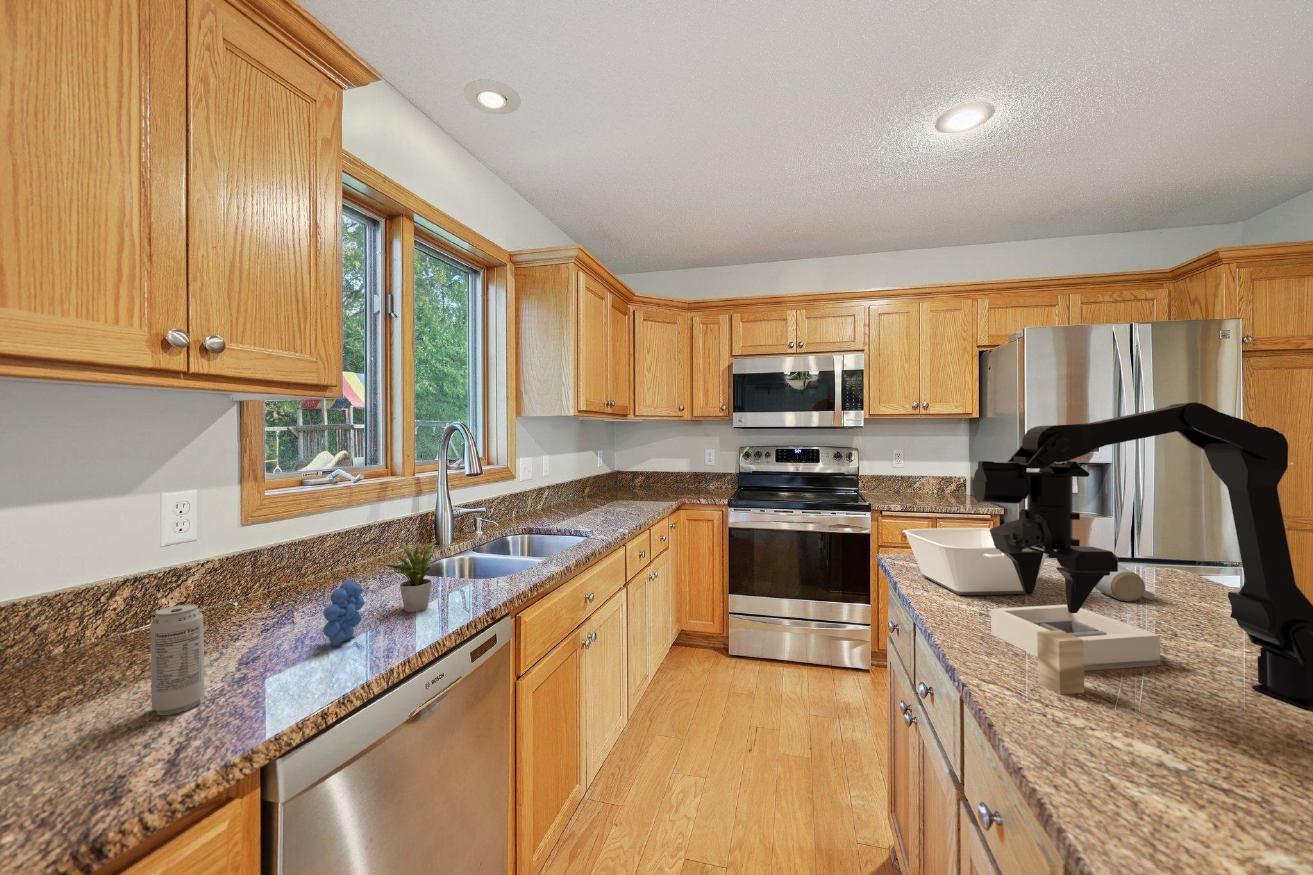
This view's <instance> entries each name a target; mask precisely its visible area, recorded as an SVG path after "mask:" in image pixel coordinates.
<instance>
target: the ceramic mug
mask: <svg viewBox="0 0 1313 875" xmlns="http://www.w3.org/2000/svg"><path fill="white" fill-rule="evenodd" d="M1094 589H1096V590H1097V591H1099V592H1100V593H1103V594H1104V595H1107V596H1109V597H1111V598H1114V599H1116V600H1118V601H1122V602H1134V601H1136V600H1139V599H1141V598H1145V599H1147V600H1150V601H1153V600H1154V598H1156V594H1154V593H1152V592H1150V591H1148V590H1146V585H1145V582H1144V580H1143V578H1141V577H1140V576H1139V575H1138V574H1137V573H1136V572H1134V571H1132V570H1130V569H1128V568H1125V567H1124V566H1121V565H1119V564H1118V572H1110V575H1109V576H1104V577H1103V578H1102V579H1101V580H1100V581H1099V583H1098V584H1097V585H1096V586H1095V587H1094Z"/></svg>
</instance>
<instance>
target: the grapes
mask: <svg viewBox="0 0 1313 875" xmlns="http://www.w3.org/2000/svg"><path fill="white" fill-rule="evenodd" d="M362 593H363V588H362V585H360V583H358V582H354V581H353V580H351V579H348V580H345V581H344V582H342V583H341V585H340V586H339V587H338V588H335V590H333V591H332V593H331V594H330V596H329V598H330V601H331V604H329V605H328V606H327V607H325V608H324V611H323V617H324V619H325V620H326V621H327V623H325V625H324V626H323V627H322V630H323V634H324V635H325V637H327V638H328V640H329V643H330V644H331V645H333V646H338V645H340V644H341V643H342V642H346V641H349V640H350V639H351V638H352V636H353V635H354V634H355V630H354V628H355V627H357V626H358V625H359V624H360V623H361V621H362V620H363V618H362V616H361V613H360V612H359V610H361V609H362V608H363V607H364V605H365V604H366V603H365V600H364V598H363V596H362V595H361V594H362Z"/></svg>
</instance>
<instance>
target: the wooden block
mask: <svg viewBox="0 0 1313 875" xmlns="http://www.w3.org/2000/svg"><path fill="white" fill-rule="evenodd" d="M1037 653H1038V657H1037V683H1038V684H1040V685H1042V686H1044V687H1045V688H1048V689H1049V690H1051V691H1053V692H1055V693H1057V694H1058V695H1061V696H1062V695H1070V694H1071V695H1072V694H1073V695H1074V694H1084V693H1085V673H1084V672H1085V671H1084V661H1083V639H1080V638H1078V637H1075V636H1073V635H1071V634H1068V633H1066V632H1063V631H1061V630H1056V631H1040V632H1037Z"/></svg>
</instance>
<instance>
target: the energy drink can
mask: <svg viewBox="0 0 1313 875" xmlns="http://www.w3.org/2000/svg"><path fill="white" fill-rule="evenodd" d="M198 607H199V605H198V604H194V603H192V604H191V603H189V604H179V605H172V606H169V607H165V608H161V609H160V610H157V611H155V617H154V619H153V620H152V622H151V623H150V628H149V629H150V630H149V631H150V632H149V633H150V675H151V677H150V680H151V681H150V682H151V685H150V686H151V688H150V689H151V691H150V692H151V693H150V694H151V709H152V710H153V711H156V714H157V715H159V716H167V715H168V716H170V715H174V714H180V713H182V712H185V711H188V710H190V709H193V708H194V707H196V706H198V705H199V704H200V703H201V699H203V698H204V696H205V652H204V651H205V650H204V648H205V646H204V645H205V641H204V614H203V613H202V612H201V611H200V610H199V608H198Z"/></svg>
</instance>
